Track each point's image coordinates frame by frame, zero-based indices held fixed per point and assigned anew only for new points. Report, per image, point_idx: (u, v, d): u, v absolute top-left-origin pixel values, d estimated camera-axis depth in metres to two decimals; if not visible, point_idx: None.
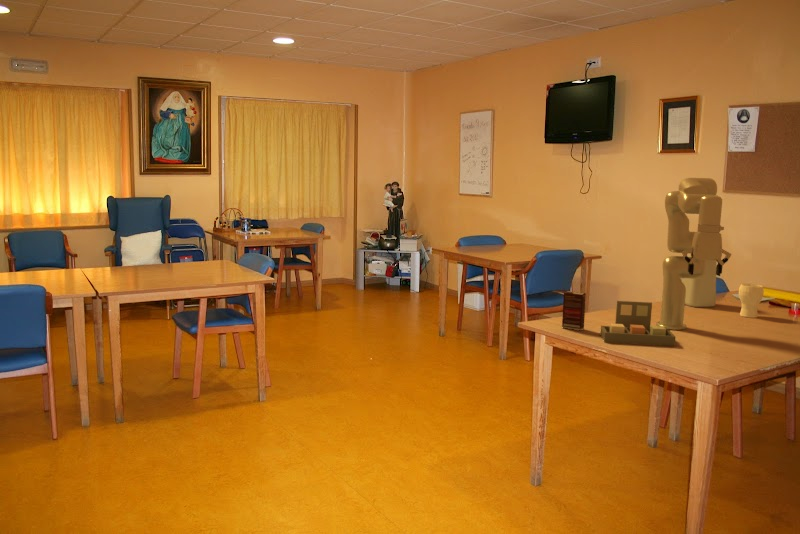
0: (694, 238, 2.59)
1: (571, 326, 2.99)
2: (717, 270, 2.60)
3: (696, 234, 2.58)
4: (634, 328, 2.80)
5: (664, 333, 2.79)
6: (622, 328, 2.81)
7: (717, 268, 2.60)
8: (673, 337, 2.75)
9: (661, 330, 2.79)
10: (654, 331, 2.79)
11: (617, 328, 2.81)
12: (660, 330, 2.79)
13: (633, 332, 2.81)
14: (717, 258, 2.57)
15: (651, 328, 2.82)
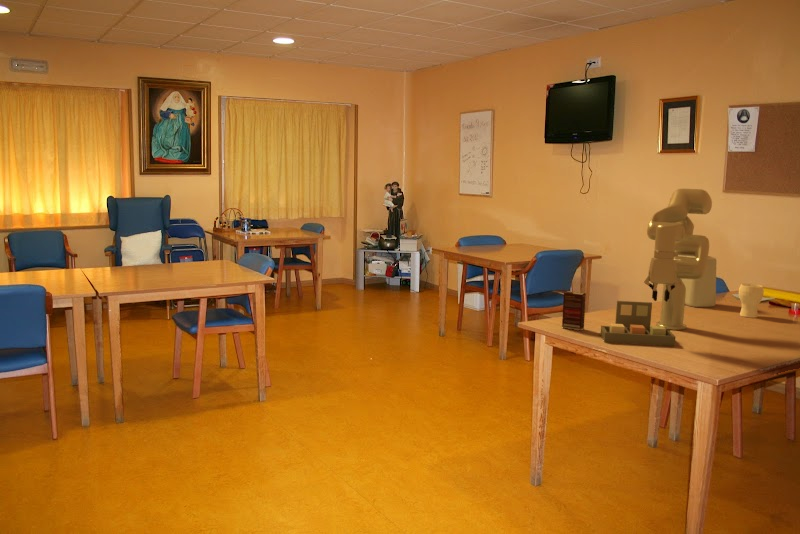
0: (651, 263, 2.78)
1: (571, 326, 2.99)
2: (665, 296, 2.79)
3: (652, 260, 2.77)
4: (634, 328, 2.80)
5: (664, 333, 2.79)
6: (622, 328, 2.81)
7: (665, 294, 2.79)
8: (673, 337, 2.75)
9: (661, 330, 2.79)
10: (654, 331, 2.79)
11: (617, 328, 2.81)
12: (660, 330, 2.79)
13: (633, 332, 2.81)
14: (672, 282, 2.76)
15: (651, 328, 2.82)
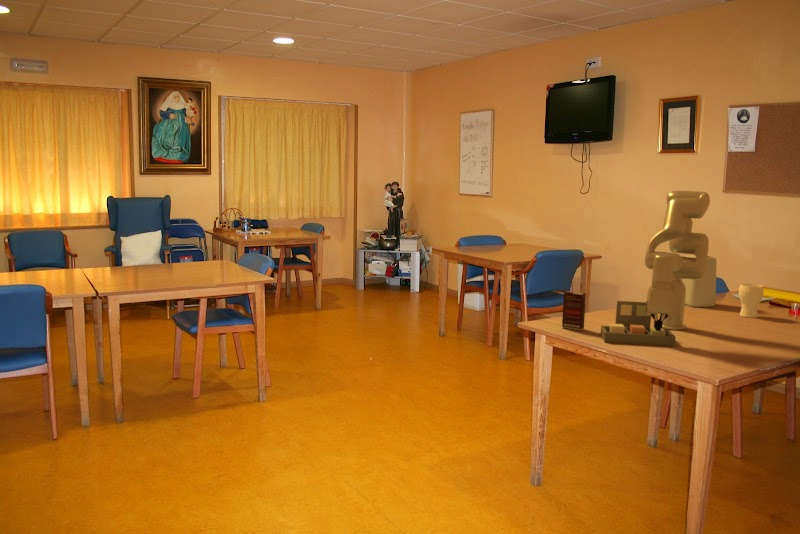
0: (648, 293, 2.80)
1: (571, 326, 2.99)
2: None
3: (650, 290, 2.79)
4: (634, 328, 2.80)
5: None
6: (622, 328, 2.81)
7: None
8: (673, 337, 2.75)
9: (661, 333, 2.79)
10: (654, 334, 2.79)
11: (617, 328, 2.81)
12: (660, 333, 2.79)
13: (633, 332, 2.81)
14: (669, 312, 2.78)
15: (651, 330, 2.82)
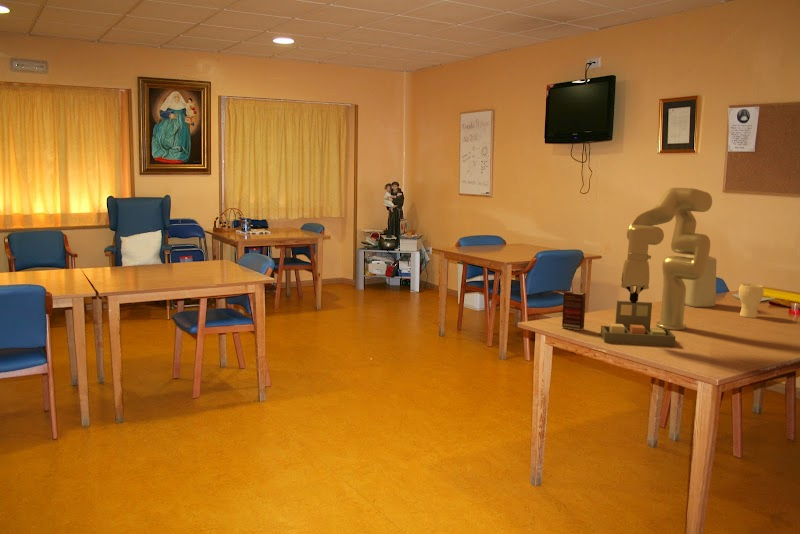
0: (624, 266, 2.79)
1: (571, 326, 2.99)
2: None
3: (626, 262, 2.78)
4: (634, 328, 2.80)
5: None
6: (622, 328, 2.81)
7: None
8: (673, 337, 2.75)
9: (661, 333, 2.79)
10: (654, 334, 2.80)
11: (617, 328, 2.81)
12: (660, 333, 2.79)
13: (633, 332, 2.81)
14: (645, 284, 2.77)
15: (651, 331, 2.82)
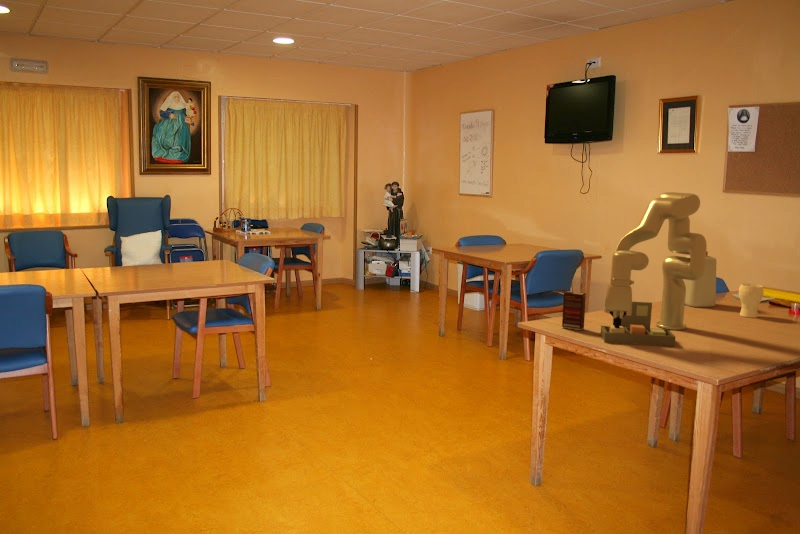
0: (607, 291, 2.82)
1: (571, 326, 2.99)
2: None
3: (609, 287, 2.81)
4: (634, 328, 2.80)
5: None
6: (622, 330, 2.81)
7: None
8: (673, 337, 2.75)
9: (661, 333, 2.79)
10: (654, 334, 2.80)
11: (617, 330, 2.81)
12: (660, 333, 2.79)
13: (633, 332, 2.81)
14: (627, 310, 2.80)
15: (651, 331, 2.82)
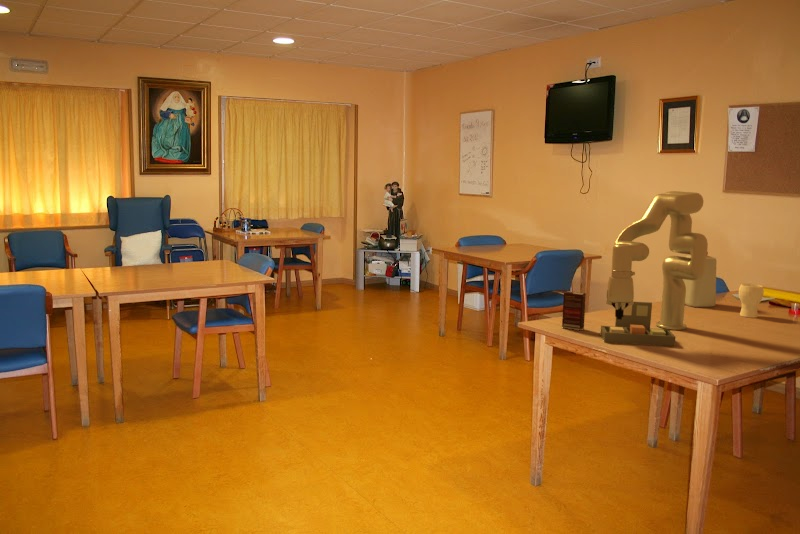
0: (608, 283, 2.82)
1: (571, 326, 2.99)
2: None
3: (610, 279, 2.81)
4: (634, 328, 2.80)
5: None
6: (622, 331, 2.81)
7: None
8: (673, 337, 2.75)
9: (661, 333, 2.79)
10: (654, 334, 2.80)
11: (617, 331, 2.82)
12: (660, 333, 2.79)
13: (633, 332, 2.81)
14: (629, 301, 2.80)
15: (651, 331, 2.82)
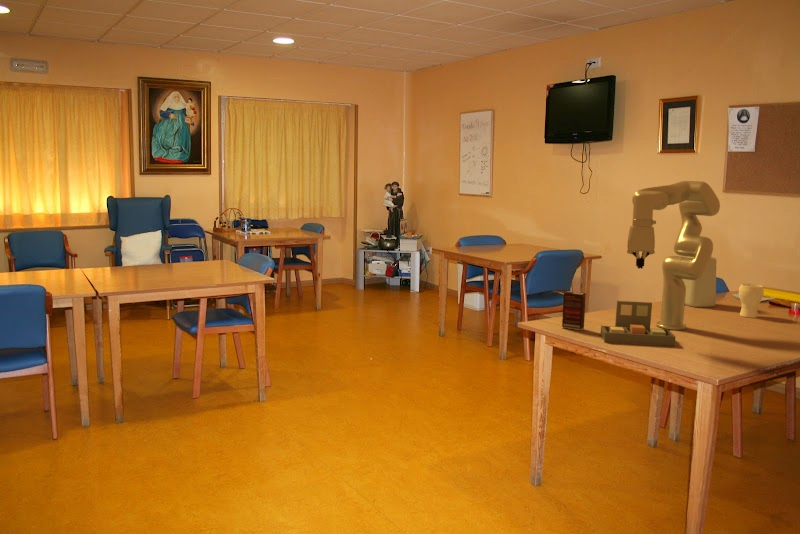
0: (629, 232, 2.83)
1: (571, 326, 2.99)
2: None
3: (631, 228, 2.82)
4: (634, 328, 2.80)
5: None
6: (622, 331, 2.81)
7: None
8: (673, 337, 2.75)
9: (661, 333, 2.79)
10: (654, 334, 2.80)
11: (617, 331, 2.82)
12: (660, 333, 2.79)
13: (633, 332, 2.81)
14: (650, 249, 2.81)
15: (651, 331, 2.82)
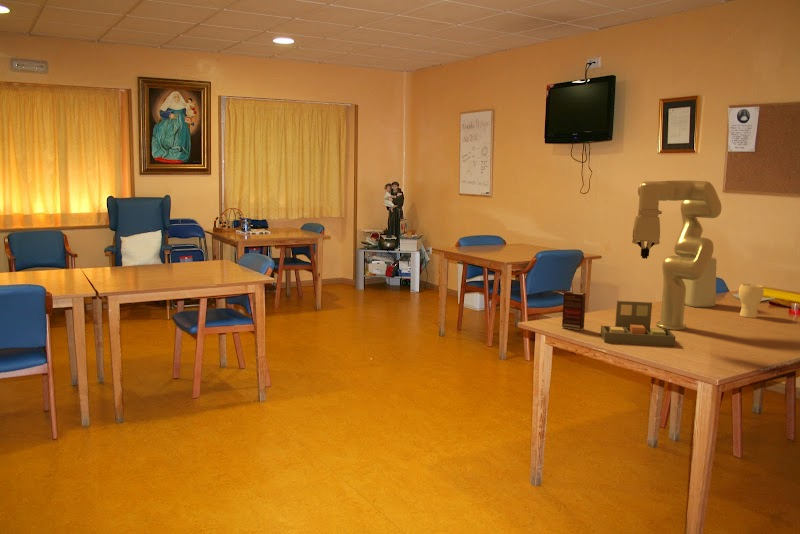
0: (635, 221, 2.83)
1: (571, 326, 2.99)
2: None
3: (636, 218, 2.82)
4: (634, 328, 2.80)
5: None
6: (622, 331, 2.81)
7: None
8: (673, 337, 2.75)
9: (661, 333, 2.79)
10: (654, 334, 2.80)
11: (617, 331, 2.82)
12: (660, 333, 2.79)
13: (633, 332, 2.81)
14: (655, 240, 2.81)
15: (651, 331, 2.82)
